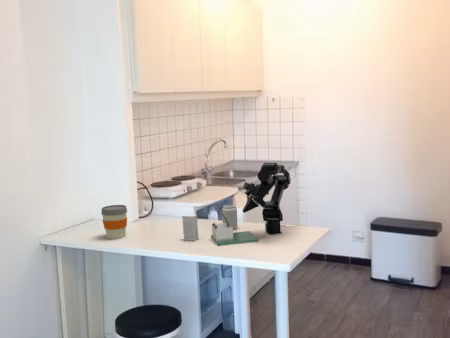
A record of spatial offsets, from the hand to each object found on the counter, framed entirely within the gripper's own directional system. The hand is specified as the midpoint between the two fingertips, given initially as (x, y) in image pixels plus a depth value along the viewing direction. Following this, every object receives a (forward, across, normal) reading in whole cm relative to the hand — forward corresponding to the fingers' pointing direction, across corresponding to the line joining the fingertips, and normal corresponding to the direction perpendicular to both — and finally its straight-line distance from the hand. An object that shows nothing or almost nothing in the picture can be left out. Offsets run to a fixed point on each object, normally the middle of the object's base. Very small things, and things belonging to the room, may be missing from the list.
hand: (243, 212), depth 244 cm
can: (+11, -20, +7) cm, 24 cm away
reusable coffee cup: (+51, -27, -33) cm, 67 cm away
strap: (+8, 0, -5) cm, 10 cm away
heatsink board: (+12, 0, +5) cm, 13 cm away
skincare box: (+26, -7, -8) cm, 29 cm away
